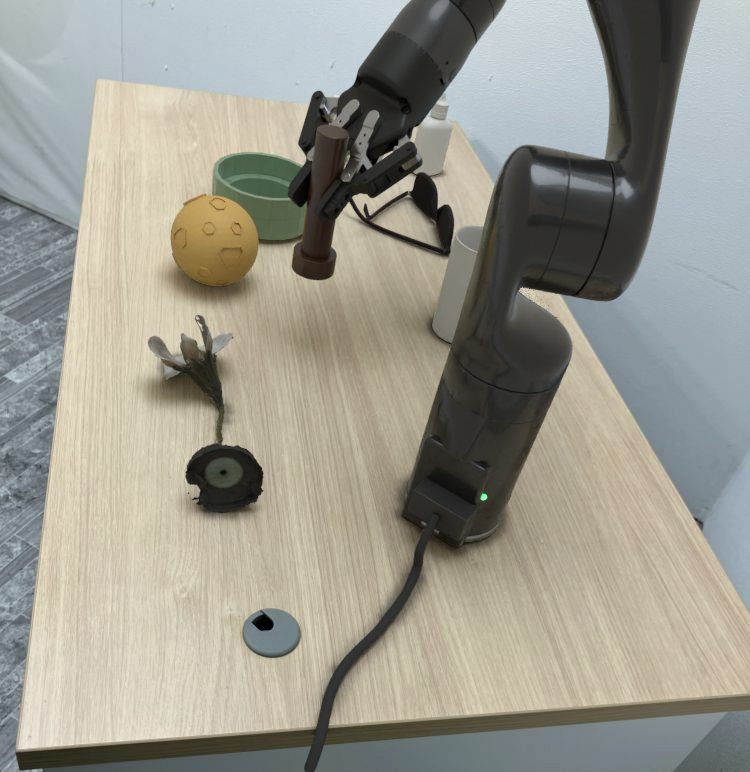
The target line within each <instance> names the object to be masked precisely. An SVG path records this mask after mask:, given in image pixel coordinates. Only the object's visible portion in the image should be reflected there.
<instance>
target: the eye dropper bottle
mask: <svg viewBox="0 0 750 772" xmlns="http://www.w3.org/2000/svg"><path fill="white" fill-rule="evenodd" d="M446 99H447V92H446V91H445V92H444V93H443V94H442V96H441V97H440V98H439V100H438V101H437V103H436V104H435V105H434V107H433V108H432V109H431V111H430V115H427V116H426V117H425V119H424V120H423V121H422V123H421V124H420V125H419V126H417V130H416V134H415V137H414V141H413V143H414V144H415V146H416V148H417V149H418V151H419V153H420V155H421V158H422V160H423V163H422V165H421V167H419V168H418V169H416V170H415V171H413V172H412V174H415V175H417V174H418V173H419V172H424V173H426V174H427V175H429V176H430V177H432V176H436V175H438V174H441V173H442V172H443V169H444V165H445V161H446V157H447V153H448V149H449V145H450V141H451V137H452V133H453V129H454V128H453V123H452V121H451V120H450V119H448V118H447V116H448V111H449V107H450V103H449V102H448V101H447V100H446Z"/></svg>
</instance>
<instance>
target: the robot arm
mask: <svg viewBox="0 0 750 772" xmlns="http://www.w3.org/2000/svg"><path fill="white" fill-rule="evenodd" d="M585 2H586V5H587V9H588V12H589V15H590V18H591V21H592V24H593V27H594V30H595V34H596V38H597V40H598V44H599V48H600V51H601V55H602V59H603V64H604V69H605V75H606V83H607V90H608V91H607V92H608V125H607V128H608V129H607V140H606V148H605V154H604V158H601V157H596V156H593V155H587V154H582V153H577V152H573V151H569V150H563V149H559V148H553V147H549V146H543V145H537V144H527V143H526V144H522V145H519V146H517V147H516V148H515V149H514V150H512V151H511V152H510V154H509V155H508V157H506V159H505V161H504V162H503V164H502V166H501V169H500V170H499V172H498V174H497V178H496V180H495V182H494V183H495V184H494V186H493V188H492V192H491V195H490V199H489V203H488V207H487V211H486V215H485V218H484V224H483V226H484V227H483V231H482V236H481V240H480V244H479V248H478V252H477V256H476V260H475V264H474V268H473V271H472V275H471V278H470V282H469V285H468V288H467V292H466V295H465V299H464V302H463V306H462V310H461V313H460V317H459V321H458V324H457V328H456V331H455V334H454V337H453V340H452V343H450V344H451V345H450V348H449V351H448V354H447V358H446V360H445V364H444V367H443V370H442V373H441V375H440V376H441V377H440V379H439V382H438V386H437V389H436V392H435V395H434V399H433V402H432V405H431V408H430V412H429V415H428V418H427V421H426V424H425V427H424V431H423V434H422V437H421V440H420V444H419V447H418V449H417V453H416V457H415V460H414V463H413V466H412V470H411V474H410V476H409V479H408V480H407V483H406V485H405V489H404V492H403V493H404V494H403V499H404V500H403V502H404V504H403V508H402V511H401V516H402V517H404V518H405V519H407V520H408V521H410V522H412V523H413V524H415V525H417V526H419V527H420V528H421V529H422V532H421V534H420V536H419V537H418V541H417V543H416V545H415V549H414V552H413V553H414V554H413V563H412V567H411V569H410V573H409V574H408V577H407V579H406V581H405V584H404V585H403V588H402V589H401V590H400V593H399V594H398V596H397V597H396V598H395V600H394V601H393V603H392V604H391V605H390V606H389V608H388V609H387V611H386V612H385V613H384V614H383V616H382V617H381V619H380V620H379V621H378V623H377V624H376V625H375V626H374V627H373V628H372V629H371V630H370V631H369V632H368V633H367V634H366V635H365V636H364V637H363V638H362V639H361V640H360V641H359V642H358V643H357V644H356V645H355V646H354V647H352V649H350V651H349V652H348V653H347V654H346V655H345V656H344V657H343V659H342V660H341V661H340V662H339V664H338V666H337V667H336V668H335V670H334V672H333V674H332V675H331V677H330V679H329V681H328V684H327V686H326V688H325V691H324V694H323V697H322V700H321V705H320V709H319V714H318V718H317V723H316V728H315V731H314V736H313V739H312V742H311V746H310V749H309V752H308V755H307V758H306V761H305V763H304V766H303V770H304V772H315V771H316V769H317V768H318V764H319V761H320V758H321V755H322V753H323V750H324V746H325V744H326V739H327V735H328V731H329V725H330V722H331V721H330V720H331V716H332V711H333V706H334V703H335V699H336V696H337V693H338V691H339V688H340V686H341V684H342V682H343V680H344V679H345V677H346V675H347V673H348V672H349V670H350V669H351V668H352V666H353V665H354V664H355V663H356V662H357V660H358V659H359V658H360V657H361V656H362V655H363V654H364V653H365V652H366V651H367V650H368V649H369V648H370V647H372V645H373V644H374V643H375V642H376V641H377V640H378V639H380V637H381V636H382V635H383V634H384V633H385V631H386V630H387V629H388V628H389V626H390V625H391V624H392V622H393V621H394V619H396V617H397V616H398V614H399V613H400V612H401V610H402V609H403V608H404V606H405V605H406V603H407V602H408V600H409V598H410V596H411V595H412V592H413V591H414V589H415V587H416V584H417V582H418V580H419V577H420V576H421V572H422V570H423V566H424V556H425V552H426V549H427V547H428V544H429V542H430V539H431V537H432V536H435V537H437V538H439V539H440V540H442V541H444V542H445V543H447V544H448V545H450V546H451V547H453V548H455V549H459V548H460V547H461V546H462V545H463V544H465V543H473V542H479V541H482V540H484V539H487V538H488V537H490V536H491V535H493V534H494V533H495V532H496V531H497V529H498V528H499V526H500V524H501V522H502V520H503V516H504V512H505V509H506V508H507V505H508V503H509V501H510V499H511V497H512V494H513V491H514V489H515V487H516V484H517V483H518V480H519V477H520V475H521V473H522V471H523V468H524V466H525V464H526V462H527V460H528V457H529V455H530V452H531V451H532V448H533V446H534V444H535V442H536V439H537V436H538V434H539V432H540V430H541V428H542V425H543V423H544V421H545V419H546V417H547V414H548V412H549V410H550V408H551V405H552V403H553V401H554V399H555V396H556V395H557V392H558V390H559V388H560V386H561V383H562V381H563V378H564V376H565V374H566V371H567V369H568V367H569V366H570V362H571V360H572V357H573V348H574V347H573V341H572V338H571V335H570V333H569V331H568V329H567V328H566V327H565V325H564V324H563V322H561V320H559V319H558V318H557V317H556V316H555V315H554V314H552V313H551V312H550V311H548V310H547V309H546V308H544V307H543V306H541V305H539V304H538V303H536V302H534V301H533V300H532V299H530V298H528V297H527V296H525V295H524V294H523V293H522V292H521V291H520V290H521V289H522V288H524V289H529V290H533V291H539V292H545V293H550V294H555V295H560V296H564V297H565V296H566V297H572V298H575V299H582V300H587V301H588V300H589V301H594V302H612V301H614V300H616V299H618V298H619V297H621V296H622V295H623V294H624V293H625V292H626V291H627V290H628V288H629V287H630V285H631V284H632V282H633V280H634V279H635V277H636V275H637V274H638V272H639V268H640V267H641V264H642V262H643V259H644V257H645V254H646V250H647V247H648V244H649V241H650V238H651V233H652V229H653V225H654V221H655V217H656V212H657V207H658V202H659V198H660V197H659V196H660V192H661V188H662V182H663V176H664V171H665V165H666V160H667V155H668V150H669V149H668V148H669V144H670V143H669V142H670V139H671V133H672V128H673V123H674V117H675V113H676V106H677V101H678V95H679V91H680V87H681V81H682V75H683V71H684V67H685V62H686V58H687V53H688V50H689V46H690V42H691V38H692V35H693V30H694V26H695V22H696V19H697V15H698V11H699V8H700V4H701V0H585ZM506 3H507V0H409V2H408V3H406V4H405V6H404V7H403V8H401V10H400V11H399V13H398V14H397V15H396V17H395V18H394V19H393V21H392V22H391V24H390V25H389V26H388V27H387V29H385V32H384V33H383V34H382V36H381V37H380V38H379V40H378V41H377V43H376V44H375V45H374V46H373V48H372V49H371V51H370V52H369V54H368V55H367V56H366V58H365V59H364V60H363V62H362V63H361V64H360V66H359V67H358V70H357V73H356V77H355V80H354V82H353V84H352V85H351V86H350V87H349V88H348V89H346V90H344V91H342V93H341V94H339V95H340V96H339V97H332V96H325V94H324V92H323V91H322V90H316V91H314V92H313V93H312V95H311V98H310V101H309V104H308V108H307V110H306V114H305V118H304V121H303V125H302V128H301V131H300V134H299V138H298V141H297V144H298V147H299V148H300V149H301V151H302V152H303V154H304V156H305V162H304V164H302V165H303V166H302V168H301V169H300V171H299V172H298V173H297V175H296V176H295V177H294V179H293V180H292V181H291V183H290V185H289V188H288V189H289V191H288V197H289V198H290V199H291V201H292V202H293V203H294V204H295V205H297V206H298V207H302V206H304V204H305V203H306V201H307V198H308V191H309V184H310V176H311V169H312V161H313V154H314V147H315V139H316V132H317V128H318V127H319V126H321V125H329V123H330V125H334V126H338V127H341V128H343V129H345V130H346V131H348V132H349V142H348V148H347V154H346V158H347V157H348V156H349V158H348V161H347V162H346V164H345V166H344V170H343V172H342V174H341V180H340V181H339V180H338V179H336V180H335V181H334V182H333V184H332V185H331V186H330V188H329V189H328V190H327V192H326V193H325V195H324V196H323V197H322V199H321V200H320V201H319V203H318V204H317V205H316V207H315V209H314V214H315V215H316V216H317V217H318V219H319V220H320V221H321V222H323V223H325V224H328V223H329V222H330V221H331V220H332V221H334V220H335V219H336V220H337V219H338V218H339V216H340V215H341V213H342V212H343V211H344V209H345V208H346V207H347V205H348V204H350V202H349V201H350V200H351V198H353V197H355V196H358V195H360V194H361V195H367V197H368V198H369V199H375V198H377V197H378V196H380V195H381V194H383V193H384V192H386V191H387V190H388V189H390V188H391V187H394V186H395V185H396V184H398V183H400V181H402V180H403V179H405V178H406V177H408V176H409V175H411V174H413V171H415V170H416V169H418V168H419V167H421V165H422V163H423V160H422V158H421V155H420V153H419V151H418V149H417V148H416V146H415V144H414V141H411V139H412V136H413V131H414V129H415V128H418V126H419V125H420V124H421V123H422V121H423V120H424V119H425V117H427V116H429V113H431V110H432V108H433V107H434V105H435V104H436V103H437V101H438V100H439V98H440V97H441V96H442V94H443V93H444V92H445V93H446V90H447V89H448V88H449V86H450V85H451V84H452V82H453V81H454V79H456V77H457V75H458V74H459V73H460V71H461V70H462V68H463V67H464V65H465V64H466V62H467V60H468V58H469V56H470V54H471V52H472V51H473V49H474V48H475V46H477V43H478V42H479V41H480V40H481V38H482V37H483V35H485V33H486V32H487V30H488V29H489V27H490V26H491V25H492V23H493V22H494V21H495V19H496V18H497V17H498V16H499V14H500V12H501V11H503V8H504V6H505V5H506ZM336 114H337V115H336ZM335 115H336V119H335V120H333V118H334V116H335ZM387 154H388V155H387ZM385 155H387V156H385ZM383 157H384V158H383Z"/></svg>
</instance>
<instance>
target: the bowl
mask: <svg viewBox="0 0 750 772" xmlns="http://www.w3.org/2000/svg"><path fill="white" fill-rule="evenodd" d="M303 165H304V164H300V163H298V162H296V161H295V160H292V159H290V158H287V157H283V156H281V155H277V154H273V153H265V152H261V151H260V152H257V151H242V152H235V153H234V152H233V153H229V154H226V155H224V156H222V157H220V158H218V160H216V161H215V162H214V164H213V169H212V182H211V183H212V185H211V196H221V197H225V198H228V199H230V200H232V201H234V202H236V203H237V204H239V205H240V206H241V207H242V208H243V209H244V210H245V211H246V212H247V213H248V214H249V215H250V217H251V219H252V220H253V222H254V224H255V227H256V230H257V233H258V240H266V241H285V240H290V239H295V238H298V237H300V236H302V235H303V228H304V221H305V213H306V206H307V201H306V203H305V204H304V206H302V207H298V206H297V205H295V204H294V203H293V202H292V201H291V199H290V198H289V197H288V191H289V189H288V188H289V185H290V183H291V181H292V180H293V179H294V177H295V176H296V175H297V173H298V172H299V171H300V169H301V168H302V166H303Z"/></svg>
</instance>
